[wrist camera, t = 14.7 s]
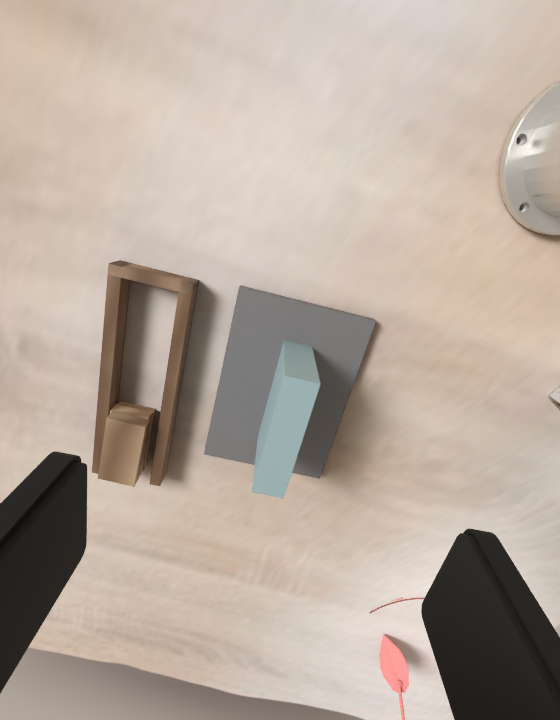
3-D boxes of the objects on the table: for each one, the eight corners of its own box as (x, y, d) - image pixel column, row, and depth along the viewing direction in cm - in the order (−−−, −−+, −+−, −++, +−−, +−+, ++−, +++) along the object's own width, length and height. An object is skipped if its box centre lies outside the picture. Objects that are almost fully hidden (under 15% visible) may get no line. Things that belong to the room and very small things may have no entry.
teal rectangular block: (312, 346, 38) (320, 384, 30) (283, 442, 43) (283, 498, 34) (284, 340, 38) (284, 375, 30) (257, 436, 42) (251, 491, 34)
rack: (198, 280, 37) (193, 284, 35) (166, 472, 45) (160, 486, 43) (119, 260, 36) (108, 263, 34) (101, 458, 45) (92, 472, 42)
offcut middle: (152, 412, 41) (147, 419, 40) (143, 469, 44) (138, 477, 43) (115, 404, 41) (110, 410, 40) (109, 462, 44) (103, 470, 42)
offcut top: (150, 419, 40) (145, 427, 39) (138, 477, 43) (134, 486, 41) (112, 410, 40) (106, 417, 38) (103, 469, 42) (97, 478, 41)
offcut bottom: (157, 406, 43) (152, 413, 41) (147, 462, 46) (143, 470, 44) (122, 398, 42) (116, 405, 41) (115, 455, 45) (109, 463, 44)
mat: (373, 318, 38) (375, 321, 37) (318, 473, 45) (319, 478, 44) (240, 285, 37) (239, 287, 36) (205, 449, 44) (204, 454, 43)
